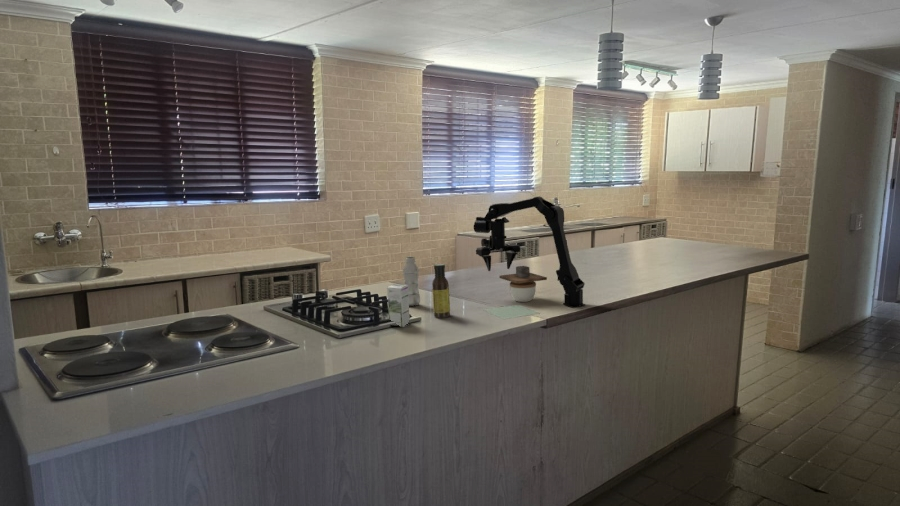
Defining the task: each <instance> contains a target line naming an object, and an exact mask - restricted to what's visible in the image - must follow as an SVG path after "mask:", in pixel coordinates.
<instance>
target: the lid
mask: <svg viewBox="0 0 900 506" xmlns="http://www.w3.org/2000/svg"><path fill="white" fill-rule="evenodd" d="M499 279H501V280H505V281H507V282H509V283H510V282H514V283H517V284H518V283H526V282H539V281H547V280H548V277H547V276H543V275H540V274H535V273H532V272H530V266H527V265H519V266H515V273H511V274H510V273H508V274H504V275H502V274H501V275H499Z"/></svg>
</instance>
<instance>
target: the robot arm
mask: <svg viewBox="0 0 900 506" xmlns="http://www.w3.org/2000/svg"><path fill="white" fill-rule="evenodd" d="M530 208H535V209H536V210H537V211H538V212H539V214H541V215H542V216H544V219H545V221H546V224H547V225H548V228H550V230H551V233H552V237H553V241H554V245H555V250H556V254H557V258H558V263H559V268H558V269H556V271H555V273H556V275H557V281H559V283H560V285H561V286H562V287H563V291H564V292H565V293H564V294H563V295H564V301H563V303H562V305H564V306H567V307H570V308H576V307H577V306H578V307H583V306H586V303H584V297H583V296H584V292H583V291H584V287H585V282H584V281H583V280H582V279H581V278H580V276H579V273H578V271H577V268H576V267H575V266H574V264H573V263H572V259H571V254H570V251H569V247H568V242H567V237H566V233H565V229H564V227H565V225H564V224H565V212H564V211H565V210H564V208H563V207H561V206H560V205H555V204H553V203H552V202H550V201H548V200H546V199H545V198H543V197H542V196H541V195H540V196H534V197H532V198H527V199H522V200H518V201H514V202H499V203H493V204H491V205H490V206H489V207H488V211H487V213H486V214H485V216H477V217H475V221H474V224H473V230H474V232H475V233H476V234H490V235H489V239H487V238H482V239H481V240H480V244H481V247H477V248H476V250H475V254H476V255H478V256H479V257H481V258H482V259H483V261H484V263H485V267H486V268H487V271H488V272H491V270H492V269H491V267H492V255H490V254H492V253H493V254H494V253H501V252H502V253H503V252H505V255H506V268H507V270H510V269H511V265H512V263H513V261H514V259H515V257H516V256H517V255H519V253H521V250H522V249H521V246H520V245H519V244H513V243H511V244H507V245H506V239H507V235H506V229H505V226H506V225H505V224H507V223H510V220H509V219H508V218H507V217H506V215H509V214H510V213H513V212H517V211H522V210H526V209H530Z"/></svg>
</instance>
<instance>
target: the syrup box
mask: <svg viewBox="0 0 900 506" xmlns="http://www.w3.org/2000/svg"><path fill="white" fill-rule="evenodd" d="M386 289H387V290H386V292H387V305H388V308H387V310H388V321H389V320H391V321H394V322H395V323H396V324H397V325H399V326H400V327H399V328H404V327H406V326H407V325H406V324H408V322H409V320H410V319H411V317H410V306H409V295H408V285H405V284H391V285H389V286H387V288H386ZM405 325H406V326H405ZM408 325H409V324H408Z"/></svg>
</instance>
